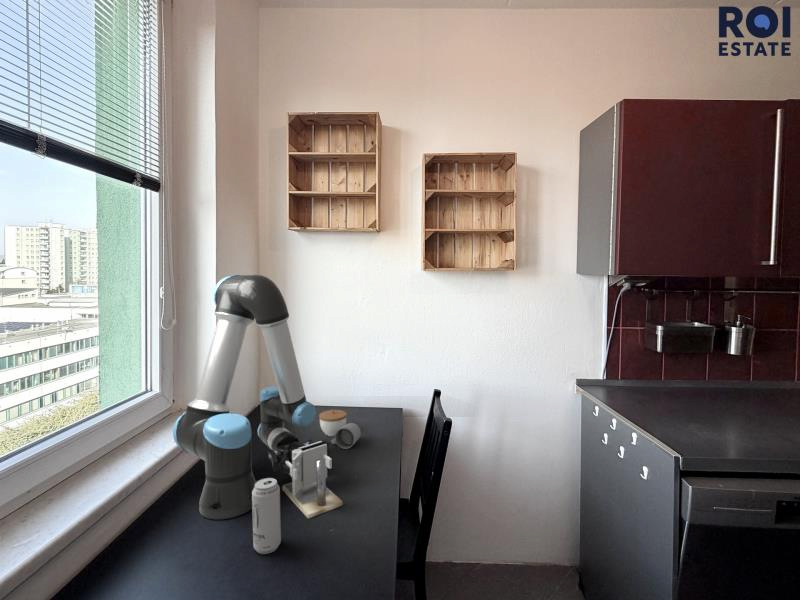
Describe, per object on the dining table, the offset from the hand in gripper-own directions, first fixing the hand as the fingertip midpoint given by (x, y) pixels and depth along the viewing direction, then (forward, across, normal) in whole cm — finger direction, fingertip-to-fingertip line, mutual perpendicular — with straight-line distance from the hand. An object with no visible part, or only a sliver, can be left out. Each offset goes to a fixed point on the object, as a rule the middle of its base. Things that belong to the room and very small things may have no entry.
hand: (313, 469), depth 112 cm
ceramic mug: (-28, -25, -9) cm, 39 cm away
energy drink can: (+12, +17, -9) cm, 22 cm away
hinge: (-4, 0, -6) cm, 8 cm away
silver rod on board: (-3, 0, -8) cm, 8 cm away
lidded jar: (-40, -27, -9) cm, 49 cm away
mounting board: (-2, 0, -9) cm, 9 cm away
